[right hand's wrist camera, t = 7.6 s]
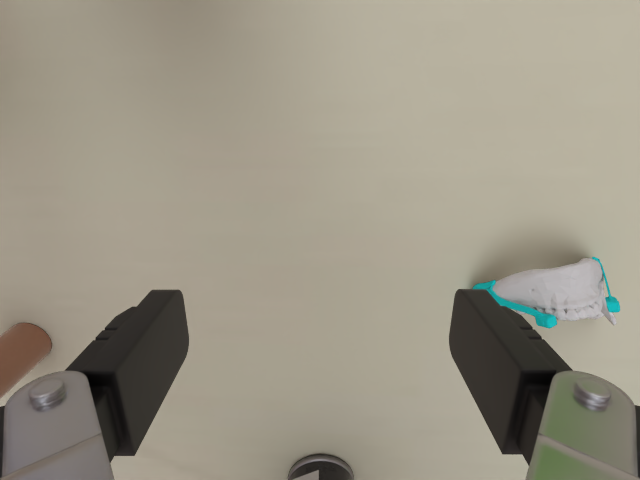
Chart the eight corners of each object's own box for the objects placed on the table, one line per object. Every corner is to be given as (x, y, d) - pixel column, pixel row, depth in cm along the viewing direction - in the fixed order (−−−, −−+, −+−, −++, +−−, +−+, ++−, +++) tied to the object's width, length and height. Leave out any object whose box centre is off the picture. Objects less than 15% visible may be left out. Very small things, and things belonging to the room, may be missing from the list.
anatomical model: (663, 250, 33) (677, 355, 34) (586, 232, 43) (600, 313, 44) (487, 292, 34) (508, 390, 36) (453, 264, 44) (471, 342, 46)
